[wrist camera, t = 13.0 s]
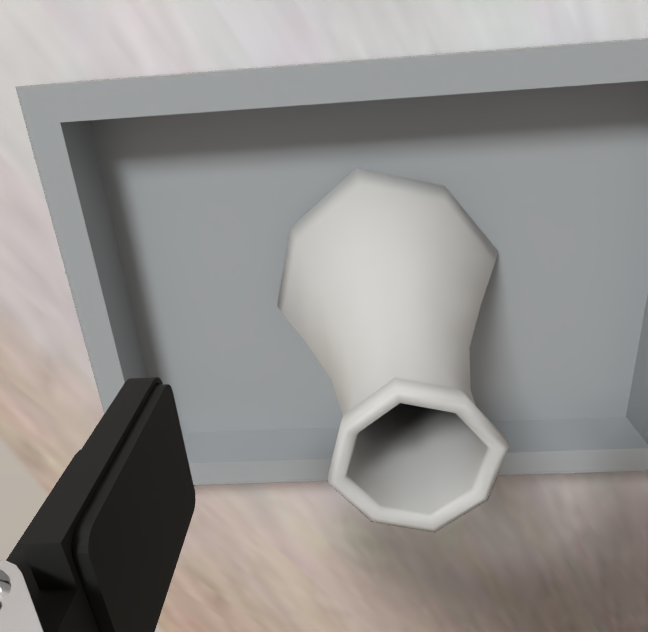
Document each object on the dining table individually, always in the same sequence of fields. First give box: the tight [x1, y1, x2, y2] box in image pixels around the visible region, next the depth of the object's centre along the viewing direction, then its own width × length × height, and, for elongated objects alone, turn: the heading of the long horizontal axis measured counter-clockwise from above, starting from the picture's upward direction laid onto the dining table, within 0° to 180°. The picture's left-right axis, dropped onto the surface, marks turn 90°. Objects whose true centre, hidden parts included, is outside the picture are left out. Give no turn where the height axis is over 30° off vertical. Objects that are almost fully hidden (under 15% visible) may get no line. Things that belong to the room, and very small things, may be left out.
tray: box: [16, 38, 648, 485], centre depth 19 cm, size 14×20×2 cm
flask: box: [277, 168, 509, 532], centre depth 15 cm, size 7×7×10 cm
